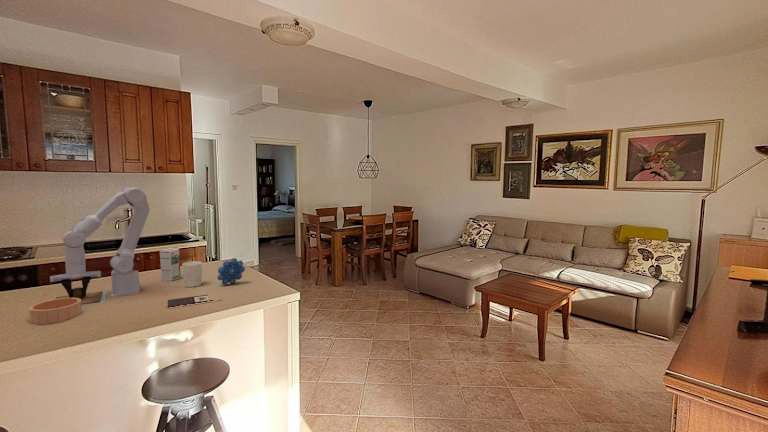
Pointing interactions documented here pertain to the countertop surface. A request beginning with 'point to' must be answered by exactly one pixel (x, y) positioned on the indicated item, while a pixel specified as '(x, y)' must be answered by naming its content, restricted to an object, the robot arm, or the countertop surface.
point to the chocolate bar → (187, 300)
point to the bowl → (55, 310)
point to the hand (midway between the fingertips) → (77, 297)
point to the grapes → (231, 271)
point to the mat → (98, 302)
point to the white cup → (192, 273)
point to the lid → (89, 297)
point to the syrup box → (170, 264)
